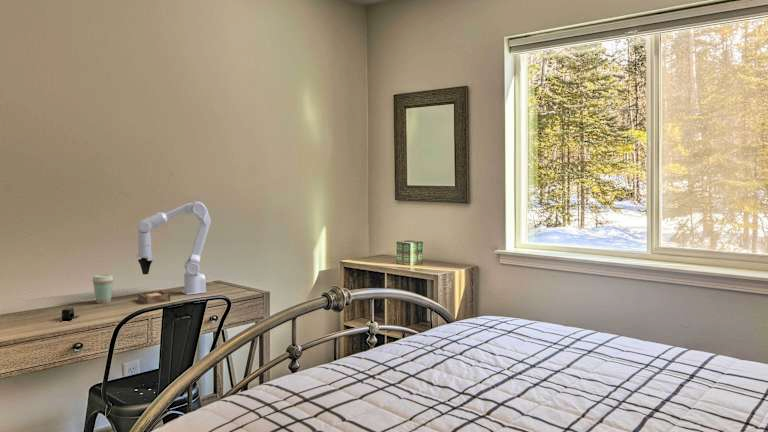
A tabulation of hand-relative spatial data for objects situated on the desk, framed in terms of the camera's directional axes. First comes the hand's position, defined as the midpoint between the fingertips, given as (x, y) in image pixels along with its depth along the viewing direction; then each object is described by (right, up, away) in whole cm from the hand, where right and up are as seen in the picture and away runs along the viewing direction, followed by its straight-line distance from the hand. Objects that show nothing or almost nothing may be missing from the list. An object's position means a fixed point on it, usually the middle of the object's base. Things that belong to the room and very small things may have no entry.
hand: (145, 274), depth 279 cm
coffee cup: (-14, -12, -13) cm, 22 cm away
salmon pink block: (+7, -11, -8) cm, 16 cm away
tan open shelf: (+7, -11, -8) cm, 16 cm away
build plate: (-14, -14, -42) cm, 46 cm away
